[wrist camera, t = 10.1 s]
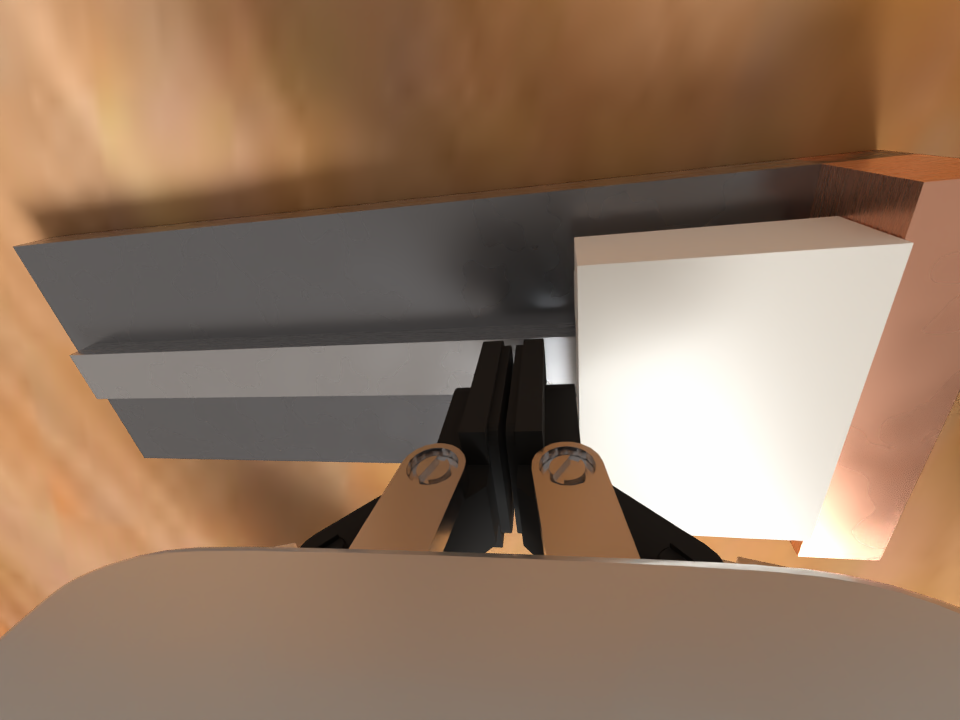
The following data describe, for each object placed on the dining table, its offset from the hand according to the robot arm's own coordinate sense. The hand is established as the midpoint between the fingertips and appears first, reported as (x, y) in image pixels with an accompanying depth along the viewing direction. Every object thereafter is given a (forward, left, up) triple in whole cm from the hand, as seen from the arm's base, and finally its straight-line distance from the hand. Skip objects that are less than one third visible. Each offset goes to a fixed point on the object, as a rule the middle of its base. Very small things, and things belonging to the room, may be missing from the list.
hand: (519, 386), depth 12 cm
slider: (-5, 0, -2) cm, 5 cm away
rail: (+4, 0, -4) cm, 6 cm away
